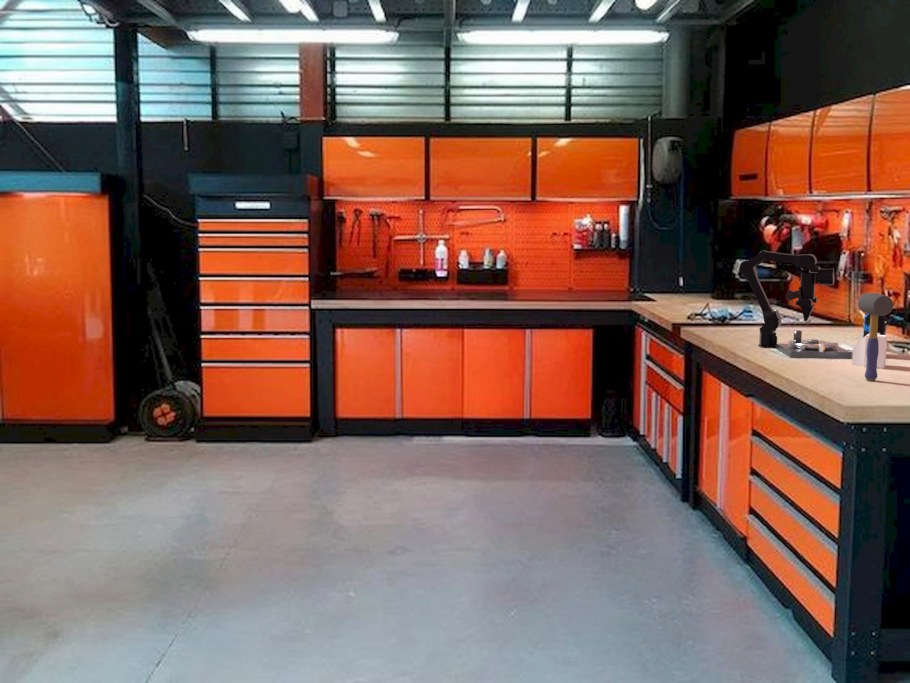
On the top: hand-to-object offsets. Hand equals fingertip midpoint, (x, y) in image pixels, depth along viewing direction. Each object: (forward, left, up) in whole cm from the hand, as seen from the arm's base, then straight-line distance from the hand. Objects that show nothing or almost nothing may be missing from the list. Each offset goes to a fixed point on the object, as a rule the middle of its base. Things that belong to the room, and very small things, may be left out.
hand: (805, 321), depth 400 cm
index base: (0, -14, -12) cm, 18 cm away
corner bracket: (+12, -44, -12) cm, 47 cm away
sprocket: (0, -14, -9) cm, 17 cm away
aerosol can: (+22, -18, -12) cm, 31 cm away
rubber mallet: (+1, -79, -12) cm, 80 cm away
